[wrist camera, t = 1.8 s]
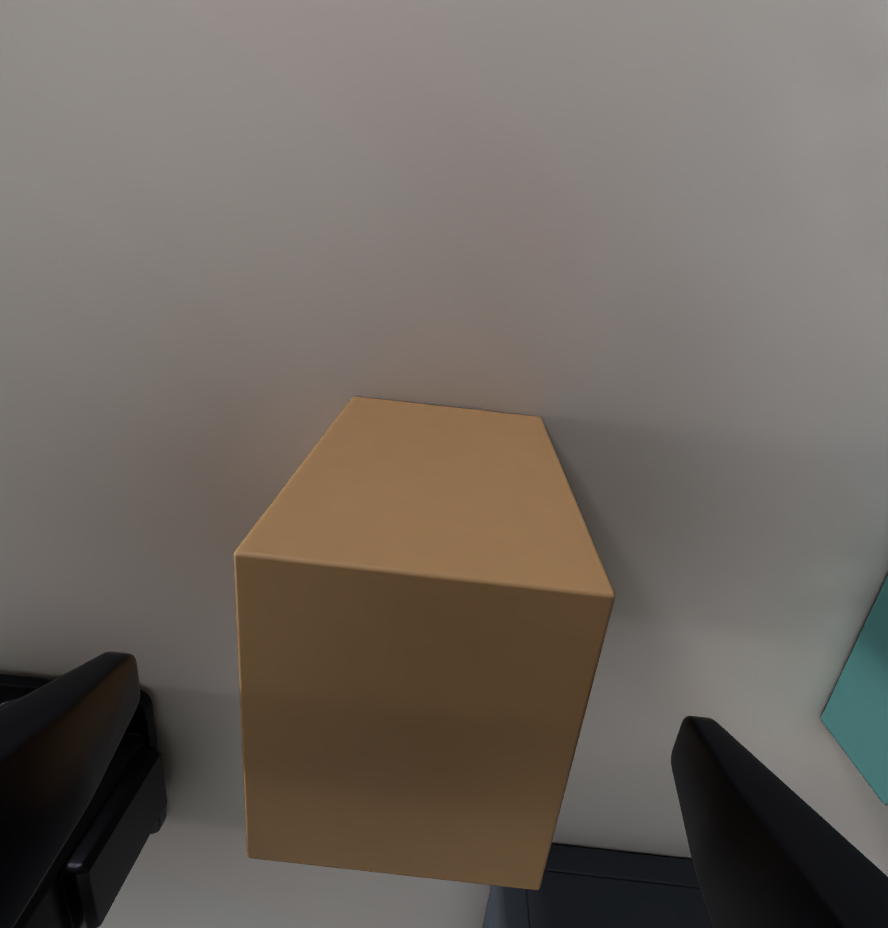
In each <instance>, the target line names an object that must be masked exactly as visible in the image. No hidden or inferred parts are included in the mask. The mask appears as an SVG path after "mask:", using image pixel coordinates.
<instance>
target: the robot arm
mask: <svg viewBox="0 0 888 928" xmlns="http://www.w3.org/2000/svg"><path fill="white" fill-rule="evenodd" d="M671 765H672V771H673V775H674V780H675V784H676V789H677V794H678V798H679V803H680V807H681V812H682V816H683V821H684V825H685V830H686V834H687V839H688V843H689V848H690V853H691V857H692V861H693V865H694V869H695V872H696V876H697V879H698V882H699V886H700V889H701V892H702V895H703V898H704V901H705V904H706V908H707V911H708V914H709V917H710V920H711V923H712V926H713V928H888V877H887V876H886V875H885V874H884V873H883V872H882V871H881V870H880V869H878V868H877V867H876V866H875V865H874V864H873V863H872V862H871V861H870V860H868V859H867V858H866V857H865V856H864V855H863V854H862V853H861V852H860V851H859V850H857V849H856V848H855V847H854V846H853V845H852V844H851V843H850V842H849V841H847V840H846V839H845V838H844V837H843V836H842V835H841V834H840V833H839V832H838V831H836V830H835V829H834V828H833V827H832V826H831V825H830V824H829V823H828V822H826V821H825V820H824V819H823V818H822V817H821V816H820V815H819V814H818V813H817V812H815V811H814V810H813V809H812V808H811V807H810V806H809V805H808V804H807V803H805V802H804V801H803V800H802V799H801V798H800V797H799V796H798V795H797V794H796V793H794V792H793V791H792V790H791V789H790V788H789V787H788V786H787V785H786V784H784V783H783V782H782V781H781V780H780V779H779V778H778V777H777V776H776V775H775V774H773V773H772V772H771V771H770V770H769V769H768V768H767V767H766V766H765V765H763V764H762V763H761V762H760V761H759V760H758V759H757V758H756V757H755V756H754V755H752V754H751V753H750V752H749V751H748V750H747V749H746V748H745V747H744V746H742V745H741V744H740V743H739V742H738V741H737V740H736V739H735V738H734V737H733V736H731V735H730V734H729V733H728V732H727V731H726V730H725V729H724V728H723V727H721V726H720V725H719V724H718V723H717V722H716V721H714V720H713V719H711V718H706V717H697V716H687V717H685V718H684V719H683V721H682V724H681V727H680V730H679V732H678V735H677V738H676V741H675V744H674V747H673V750H672V755H671ZM166 803H167V799H166V791H165V782H164V774H163V766H162V757H161V753H160V751H159V749H158V746H157V737H156V729H155V721H154V713H153V704H152V700H151V698H150V697H149V695H148V694H147V693H145V692H143V691H141V690H140V687H139V679H138V671H137V664H136V659H135V657H134V656H133V655H131V654H129V653H119V652H106V653H103V654H101V655H99V656H97V657H96V658H94V659H92V660H90V661H88V662H86V663H84V664H83V665H81V666H79V667H77V668H75V669H73V670H72V671H70V672H68V673H66V674H64V675H62V676H60V677H59V678H57V679H55V680H50V679H41V678H32V677H23V676H14V675H5V674H0V928H98V927H99V926H100V925H101V924H102V922H103V920H104V918H105V916H106V915H107V913H108V911H109V909H110V907H111V905H112V903H113V902H114V900H115V898H116V896H117V894H118V892H119V891H120V889H121V887H122V885H123V883H124V881H125V879H126V878H127V876H128V874H129V872H130V870H131V868H132V867H133V865H134V863H135V861H136V859H137V857H138V855H139V854H140V852H141V850H142V848H143V846H144V844H145V843H146V841H147V839H148V837H149V835H150V834H154V833H156V832H158V831H159V830H160V828H161V826H162V824H163V822H164V821H165V818H166V812H165V806H166Z"/></svg>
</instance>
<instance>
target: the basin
mask: <svg viewBox="0 0 888 928" xmlns="http://www.w3.org/2000/svg"><path fill="white" fill-rule="evenodd" d="M483 928H713V926H712V923H711V920H710V917H709V914H708V911H707V908H706V904H705V901H704V898H703V895H702V892H701V889H700V886H699V882H698V879H697V876H696V872H695V869H694V865H693V861H692V860H688V859H679V858H670V857H661V856H652V855H643V854H634V853H626V852H617V851H608V850H599V849H590V848H581V847H572V846H563V845H554V844H551V847H550V850H549V854H548V858H547V862H546V866H545V870H544V874H543V877H542V881H541V885H540V889H538V890H531V889H522V888H513V887H504V886H495V885H492V886H491V891H490V895H489V900H488V905H487V910H486V915H485V919H484V924H483Z"/></svg>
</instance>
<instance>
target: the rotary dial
mask: <svg viewBox="0 0 888 928" xmlns="http://www.w3.org/2000/svg"><path fill="white" fill-rule="evenodd" d="M821 721H822V722H823V723H824V725H825V726H826V727H827V729H828V730H829V731H830V733H831V734H832V735H833V737H834V738H835V740H836V741H837V742H838V744H839V745H840V746H841V748H842V749H843V750H844V752H845V753H846V754H847V756H848V757H849V758H850V760H851V761H852V762H853V764H854V765H855V766H856V768H857V769H858V771H859V772H860V773H861V775H862V776H863V777H864V779H865V780H866V781H867V783H868V784H869V785H870V787H871V788H872V789H873V791H874V792H875V793H876V795H877V796H878V798H879V799H880V800H881V802H882V803H883V804H885V805H888V575H887V577H886V580H885V582H884V584H883V586H882V588H881V590H880V592H879V595H878V597H877V599H876V601H875V603H874V605H873V607H872V609H871V612H870V614H869V616H868V618H867V620H866V622H865V624H864V627H863V629H862V631H861V633H860V635H859V637H858V639H857V642H856V644H855V646H854V648H853V650H852V652H851V654H850V656H849V659H848V661H847V663H846V665H845V667H844V669H843V671H842V674H841V676H840V678H839V680H838V682H837V684H836V686H835V689H834V691H833V693H832V695H831V697H830V699H829V701H828V703H827V706H826V708H825V710H824V712H823V714H822V716H821Z"/></svg>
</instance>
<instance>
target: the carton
mask: <svg viewBox="0 0 888 928" xmlns="http://www.w3.org/2000/svg"><path fill="white" fill-rule="evenodd" d="M234 570H235V593H236V615H237V638H238V660H239V683H240V706H241V728H242V751H243V773H244V796H245V818H246V841H247V856H248V857H249V858H254V859H263V860H272V861H281V862H290V863H299V864H308V865H317V866H326V867H334V868H343V869H352V870H361V871H370V872H379V873H388V874H397V875H406V876H415V877H424V878H433V879H442V880H451V881H460V882H469V883H477V884H486V885H495V886H504V887H513V888H522V889H531V890H538V889H540V885H541V881H542V877H543V874H544V870H545V866H546V862H547V858H548V854H549V850H550V847H551V843H552V839H553V835H554V831H555V827H556V823H557V819H558V816H559V812H560V808H561V804H562V800H563V796H564V792H565V789H566V785H567V781H568V777H569V773H570V769H571V765H572V761H573V758H574V754H575V750H576V746H577V742H578V738H579V734H580V731H581V727H582V723H583V719H584V715H585V711H586V707H587V703H588V700H589V696H590V692H591V688H592V684H593V680H594V676H595V673H596V669H597V665H598V661H599V657H600V653H601V649H602V645H603V642H604V638H605V634H606V630H607V626H608V622H609V618H610V615H611V611H612V607H613V603H614V599H615V593H614V591H613V588H612V586H611V584H610V581H609V579H608V576H607V574H606V572H605V569H604V567H603V564H602V562H601V560H600V557H599V555H598V552H597V550H596V548H595V545H594V543H593V541H592V538H591V536H590V533H589V531H588V529H587V526H586V524H585V521H584V519H583V517H582V514H581V512H580V509H579V507H578V505H577V502H576V500H575V497H574V495H573V493H572V490H571V488H570V486H569V483H568V481H567V478H566V476H565V474H564V471H563V469H562V466H561V464H560V462H559V459H558V457H557V454H556V452H555V450H554V447H553V445H552V442H551V440H550V438H549V435H548V433H547V431H546V428H545V426H544V423H543V421H542V419H541V417H536V416H527V415H518V414H509V413H500V412H491V411H482V410H473V409H464V408H455V407H446V406H437V405H428V404H419V403H409V402H400V401H391V400H382V399H373V398H364V397H353V398H352V399H351V400H350V401H349V403H348V404H347V405H346V407H345V408H344V409H343V411H342V412H341V413H340V415H339V416H338V417H337V418H336V420H335V421H334V422H333V424H332V425H331V426H330V428H329V429H328V430H327V432H326V433H325V434H324V435H323V437H322V438H321V439H320V441H319V442H318V443H317V445H316V446H315V447H314V449H313V450H312V451H311V452H310V454H309V455H308V456H307V458H306V459H305V460H304V462H303V463H302V464H301V466H300V467H299V468H298V469H297V471H296V472H295V473H294V475H293V476H292V477H291V479H290V480H289V481H288V483H287V484H286V485H285V486H284V488H283V489H282V490H281V492H280V493H279V494H278V496H277V497H276V498H275V500H274V501H273V502H272V503H271V505H270V506H269V507H268V509H267V510H266V511H265V513H264V514H263V515H262V517H261V518H260V519H259V520H258V522H257V523H256V524H255V526H254V527H253V528H252V530H251V531H250V532H249V534H248V535H247V536H246V537H245V539H244V540H243V541H242V543H241V544H240V545H239V547H238V548H237V549H236V551H235V552H234Z"/></svg>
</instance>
